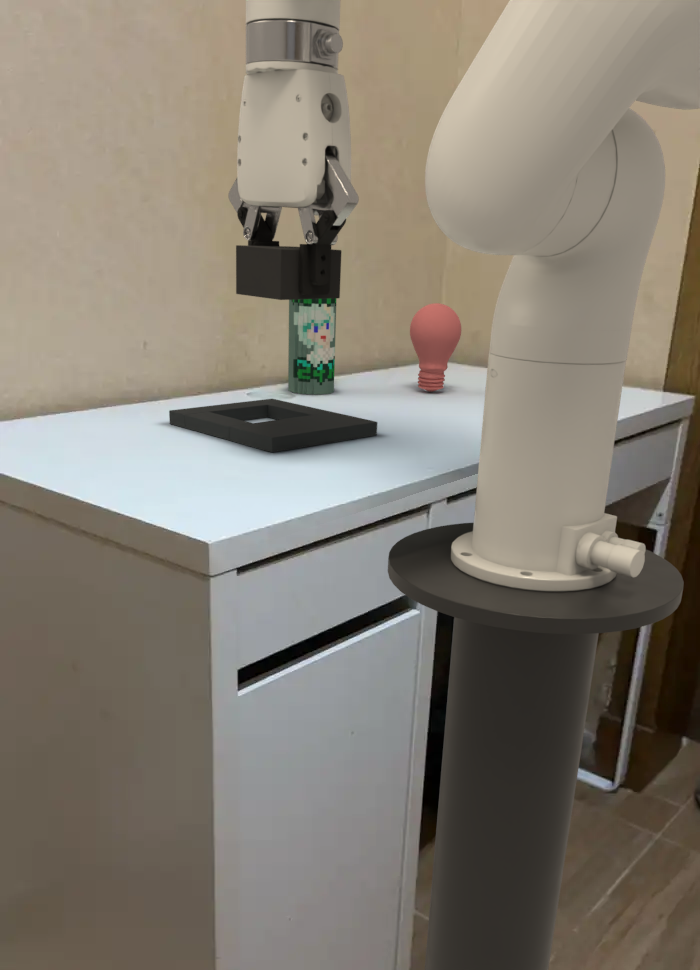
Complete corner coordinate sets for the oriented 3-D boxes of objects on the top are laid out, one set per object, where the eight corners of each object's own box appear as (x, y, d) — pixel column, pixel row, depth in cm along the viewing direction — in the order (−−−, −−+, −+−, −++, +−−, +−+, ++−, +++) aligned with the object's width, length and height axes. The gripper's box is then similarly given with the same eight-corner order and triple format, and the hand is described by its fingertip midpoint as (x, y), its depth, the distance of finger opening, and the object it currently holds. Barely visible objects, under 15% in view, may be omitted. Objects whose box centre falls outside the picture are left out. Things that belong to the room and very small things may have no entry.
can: (300, 395, 126) (302, 277, 121) (282, 388, 131) (283, 274, 126) (340, 393, 129) (344, 277, 123) (321, 386, 134) (323, 275, 128)
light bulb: (451, 398, 129) (458, 306, 124) (401, 393, 130) (406, 303, 126) (460, 390, 135) (467, 303, 130) (412, 386, 137) (417, 300, 132)
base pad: (376, 435, 103) (377, 421, 103) (272, 452, 93) (272, 437, 93) (272, 410, 115) (272, 398, 114) (169, 423, 105) (168, 410, 104)
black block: (339, 298, 83) (341, 250, 82) (280, 299, 79) (281, 248, 77) (295, 292, 87) (295, 246, 86) (235, 293, 82) (235, 245, 81)
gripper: (402, 54, 73) (388, 298, 80) (259, 69, 84) (258, 283, 91) (332, 38, 68) (324, 300, 75) (190, 57, 79) (195, 284, 86)
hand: (288, 289), depth 83 cm, fingers closed on black block, 6 cm apart
